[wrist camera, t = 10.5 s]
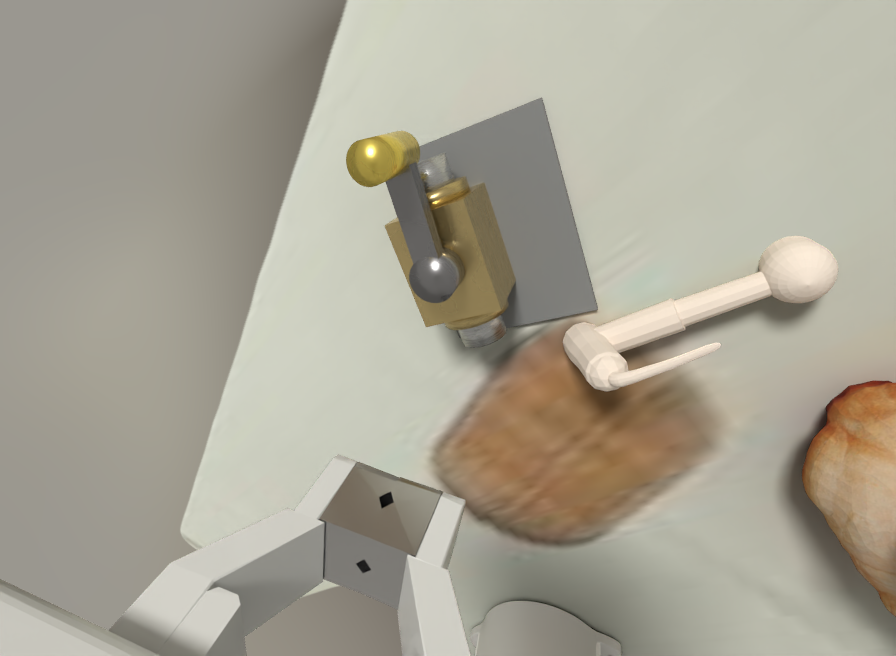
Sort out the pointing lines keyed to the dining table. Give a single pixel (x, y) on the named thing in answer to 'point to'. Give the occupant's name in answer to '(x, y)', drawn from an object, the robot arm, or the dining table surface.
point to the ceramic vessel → (859, 480)
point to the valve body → (463, 255)
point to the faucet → (699, 312)
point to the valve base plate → (525, 210)
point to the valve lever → (408, 210)
